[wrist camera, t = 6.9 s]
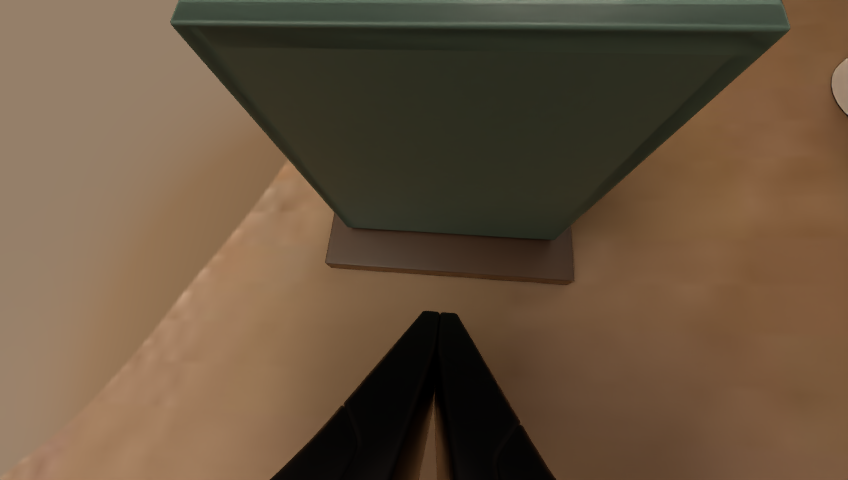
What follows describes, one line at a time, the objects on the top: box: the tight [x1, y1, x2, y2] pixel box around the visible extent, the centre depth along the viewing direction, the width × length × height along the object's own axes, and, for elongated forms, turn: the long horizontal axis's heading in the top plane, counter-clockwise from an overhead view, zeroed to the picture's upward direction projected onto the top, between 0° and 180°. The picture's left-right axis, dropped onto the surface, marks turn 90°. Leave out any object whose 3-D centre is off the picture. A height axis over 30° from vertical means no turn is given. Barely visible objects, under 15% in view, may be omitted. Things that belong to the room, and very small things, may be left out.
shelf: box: [170, 0, 790, 240], centre depth 12 cm, size 6×11×12 cm, turn 85°
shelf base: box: [325, 213, 574, 285], centre depth 19 cm, size 9×13×1 cm
